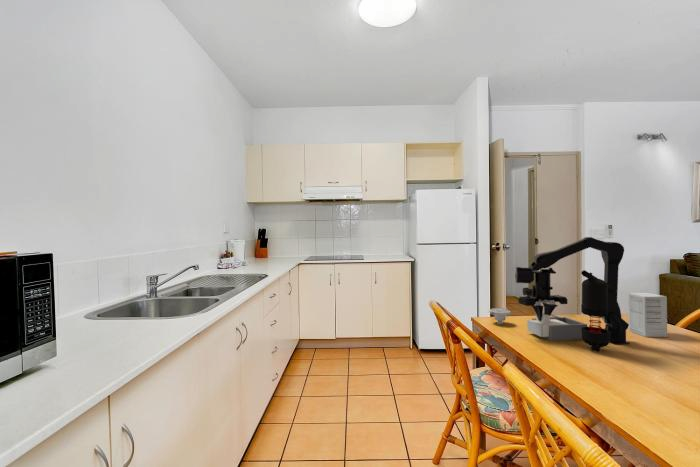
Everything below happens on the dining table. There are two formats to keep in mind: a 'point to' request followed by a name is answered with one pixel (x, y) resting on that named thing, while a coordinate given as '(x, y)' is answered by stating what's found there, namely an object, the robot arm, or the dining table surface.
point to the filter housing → (565, 329)
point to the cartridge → (542, 325)
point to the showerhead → (499, 314)
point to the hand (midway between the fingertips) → (542, 320)
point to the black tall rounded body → (595, 310)
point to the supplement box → (647, 314)
